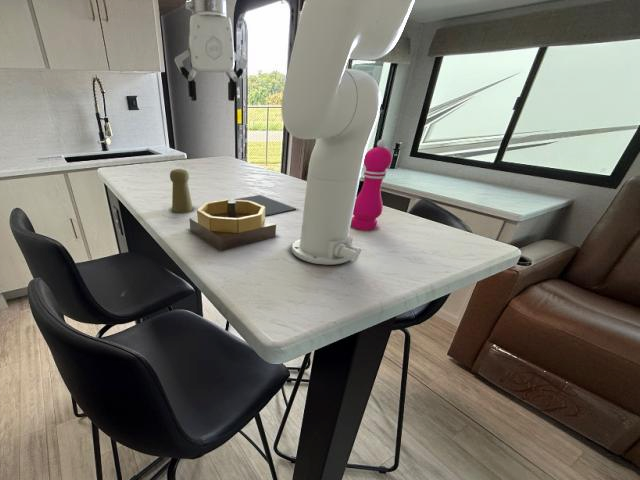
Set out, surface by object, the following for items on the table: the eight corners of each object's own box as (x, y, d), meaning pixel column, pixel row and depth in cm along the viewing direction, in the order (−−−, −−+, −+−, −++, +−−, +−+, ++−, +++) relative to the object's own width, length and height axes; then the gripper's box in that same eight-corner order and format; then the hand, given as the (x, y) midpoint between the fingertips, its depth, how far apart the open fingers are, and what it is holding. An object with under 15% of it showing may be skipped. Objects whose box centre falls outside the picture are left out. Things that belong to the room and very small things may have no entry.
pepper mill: (382, 226, 82) (404, 139, 71) (370, 233, 77) (392, 142, 67) (356, 219, 86) (373, 137, 75) (343, 226, 82) (359, 139, 71)
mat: (296, 209, 94) (296, 208, 93) (245, 220, 85) (245, 219, 85) (259, 196, 106) (259, 195, 106) (212, 204, 98) (212, 203, 98)
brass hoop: (276, 224, 74) (277, 211, 72) (220, 237, 67) (220, 223, 65) (240, 208, 84) (240, 196, 83) (189, 217, 77) (188, 205, 76)
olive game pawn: (195, 206, 95) (192, 167, 90) (190, 212, 90) (187, 171, 84) (175, 206, 96) (171, 167, 90) (169, 212, 91) (164, 171, 85)
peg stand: (275, 236, 75) (277, 204, 71) (220, 250, 68) (219, 216, 64) (240, 219, 86) (240, 190, 82) (190, 229, 79) (187, 199, 75)
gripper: (172, 2, 65) (180, 100, 75) (251, 9, 70) (250, 100, 79) (168, 10, 71) (176, 100, 81) (241, 16, 76) (241, 100, 85)
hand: (212, 100), depth 80 cm, fingers open, 9 cm apart
